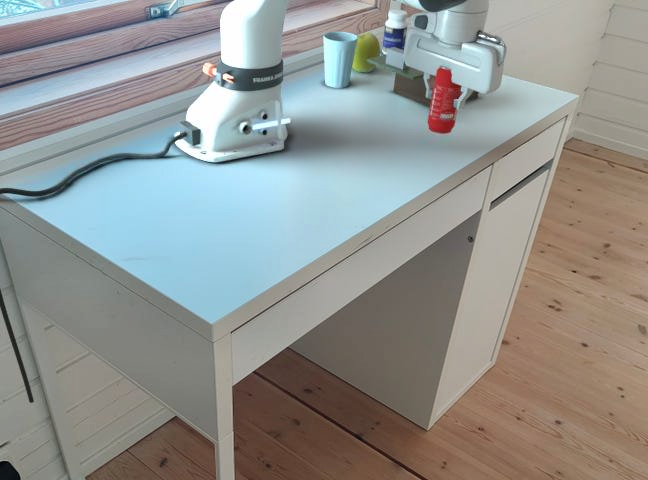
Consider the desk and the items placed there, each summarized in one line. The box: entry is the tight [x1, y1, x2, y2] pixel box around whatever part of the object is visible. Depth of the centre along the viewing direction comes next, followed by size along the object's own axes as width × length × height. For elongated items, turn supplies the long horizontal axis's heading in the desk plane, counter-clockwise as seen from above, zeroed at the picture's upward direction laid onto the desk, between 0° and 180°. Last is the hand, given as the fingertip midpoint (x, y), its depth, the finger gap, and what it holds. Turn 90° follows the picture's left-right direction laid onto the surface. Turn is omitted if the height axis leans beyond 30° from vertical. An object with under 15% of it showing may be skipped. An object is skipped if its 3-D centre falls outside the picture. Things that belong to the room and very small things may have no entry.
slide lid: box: [367, 47, 424, 80], centre depth 144 cm, size 14×14×4 cm
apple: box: [352, 28, 381, 74], centre depth 164 cm, size 8×8×10 cm
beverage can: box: [427, 66, 461, 135], centre depth 128 cm, size 5×5×12 cm
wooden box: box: [392, 73, 480, 108], centre depth 153 cm, size 14×14×8 cm
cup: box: [323, 31, 358, 89], centre depth 155 cm, size 8×8×10 cm
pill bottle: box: [381, 9, 408, 55], centre depth 175 cm, size 6×6×10 cm
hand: (444, 103), depth 129 cm, fingers closed on beverage can, 5 cm apart
